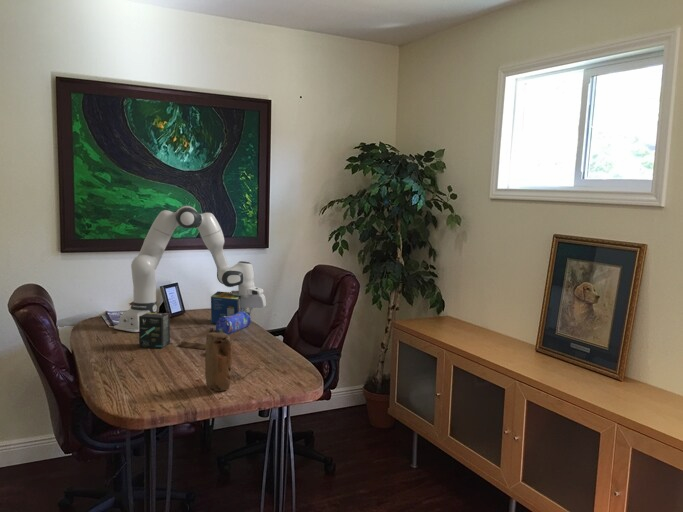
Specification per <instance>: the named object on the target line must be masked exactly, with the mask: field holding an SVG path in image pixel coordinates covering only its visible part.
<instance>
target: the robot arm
mask: <svg viewBox="0 0 683 512" xmlns="http://www.w3.org/2000/svg"><path fill="white" fill-rule="evenodd" d="M179 226H180V227H181V228H183V229H197V231H198V232H199V234H200V238H201V240H202V241H203V243H204V245H205V247H206V248H207V249H208V251H209V252H210V254H211V255H212V258H213V261H214V263H215V266H216V278H217V279H216V280H217V281H218V282H219V283H220V284H222V285H224V286H225V287H227V288H234V287H236V286H237V287H238V289H237V290H231V291H230V293H229V294H232V295H238V296H241V308H243V310H244V312H246V313H247V314H249V316H250V317H251V316H252V314H253V313H252V312H253V310H254V309H264V308H265V307H266V305H267V301H266V296H265V294H264V292H265V291H264V289H263V288H261V287H257V286H256V283H255V281H254V280H255V272H254V266H253V264H252V263H251V262H250V261H246V260H244V261H243V260H241V261H238V262H237V263H236V264H234V265H233V266H230V265H229V263H228V261H227V258H226V256H225V252H224V246H225V236H224V233H223V230H222V227H221V225H220V223H219V222H218V220H217V218H216V217H215V214H213V213H212V212H203V213H200V212H198V211H197V210H196V208H195V207H194V206H191V205H188V204H187V205H183V206H180V207H179V208H177V209H176V210H174V211H172V210H168V209H167V210H166V209H163V210H161V211H160V212H159V213H158V215H157V216H156V218H155V219H154V221H153V223H151V226H150V229H148V232H147V234H146V236H145V238H144V240H143V244H142V245H141V248H140V251H139V253H138V255H137V256H136V257H134V258H133V259H132V261H131V266H130V267H131V276H132V277H131V280H132V284H133V287H132V289H133V301H132V302H130V303H129V302H128V305H129V306H130V308H129V309H128V310H126V311H125V312H124V313H123V314H121V315H120V316H119V320H118V323H117V324H116V325H114V327H113V329H115V330H120V331H126V332H130V333H131V332H132V333H139V316H142V315H144V314H146V313H158V312H157V310H158V301H157V285H156V278H155V277H156V276H155V275H156V274H155V273H156V272H155V270H156V269H157V267H158V266H159V264H160V261H161V259H162V257H163V255H164V252H165V250H166V248H167V246H168V244H169V242H170V240H171V238H172V235H174V231H175V230H176V228H178V227H179ZM231 292H232V293H231ZM248 310H249V311H248Z"/></svg>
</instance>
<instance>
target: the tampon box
mask: <svg viewBox="0 0 683 512" xmlns="http://www.w3.org/2000/svg"><path fill="white" fill-rule="evenodd" d="M170 314H171V313H165V312H164V313H163V312H156V313H146V314H144V315H142V316H139V332H138V335H139V337H138V338H139V339H138V340H139V341H138V342H139V343H138V345H139V346H138V347H139V348H144V349H163V348H165V347H166V346H168V345H169V344H171V324H170V323H171V322H170V321H171V320H170V318H171V317H170V316H171V315H170Z"/></svg>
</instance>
